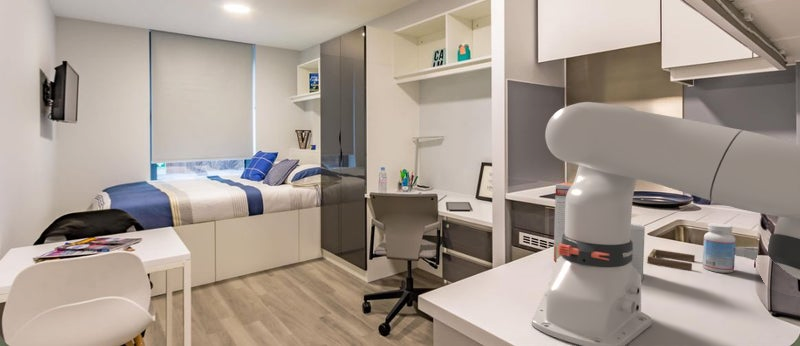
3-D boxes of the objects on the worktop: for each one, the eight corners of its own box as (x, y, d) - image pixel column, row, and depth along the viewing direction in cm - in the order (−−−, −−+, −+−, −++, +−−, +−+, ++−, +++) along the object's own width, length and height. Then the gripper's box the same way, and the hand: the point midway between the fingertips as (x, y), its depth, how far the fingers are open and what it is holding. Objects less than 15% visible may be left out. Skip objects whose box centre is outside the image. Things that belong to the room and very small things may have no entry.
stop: (691, 270, 97) (691, 264, 97) (647, 263, 103) (647, 257, 103) (694, 261, 104) (694, 255, 104) (653, 254, 110) (653, 248, 110)
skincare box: (622, 270, 98) (624, 222, 96) (642, 273, 95) (644, 224, 94) (621, 278, 92) (623, 227, 91) (642, 281, 90) (645, 229, 89)
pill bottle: (740, 274, 94) (743, 227, 93) (712, 273, 95) (715, 227, 94) (722, 265, 100) (725, 222, 99) (696, 265, 101) (699, 222, 100)
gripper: (823, 289, 79) (733, 274, 88) (809, 264, 95) (734, 254, 104) (826, 258, 79) (735, 247, 88) (811, 238, 94) (735, 230, 103)
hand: (734, 250), depth 96 cm, fingers closed
